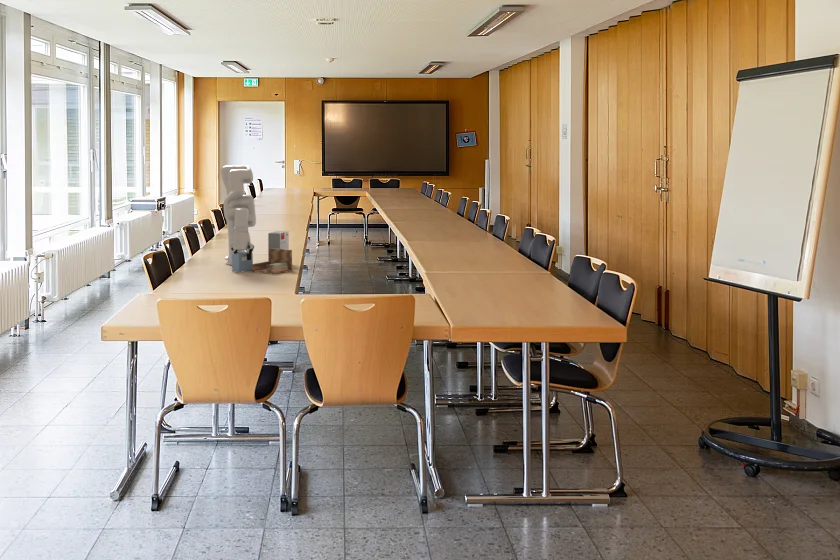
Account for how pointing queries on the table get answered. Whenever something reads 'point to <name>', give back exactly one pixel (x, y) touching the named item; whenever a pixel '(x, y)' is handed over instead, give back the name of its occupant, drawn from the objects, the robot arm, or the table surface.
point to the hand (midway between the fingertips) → (242, 259)
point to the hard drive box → (278, 240)
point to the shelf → (275, 262)
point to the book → (241, 262)
